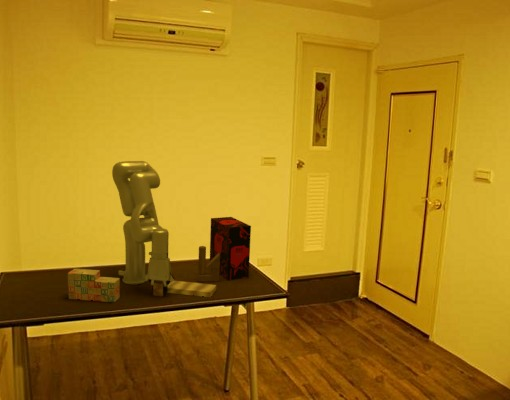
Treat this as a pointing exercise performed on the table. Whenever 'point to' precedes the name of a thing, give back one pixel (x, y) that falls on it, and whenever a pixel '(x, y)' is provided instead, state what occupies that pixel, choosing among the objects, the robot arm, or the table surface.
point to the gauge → (158, 288)
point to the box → (231, 246)
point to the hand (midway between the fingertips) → (159, 292)
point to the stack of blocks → (92, 286)
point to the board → (191, 288)
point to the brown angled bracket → (212, 264)
